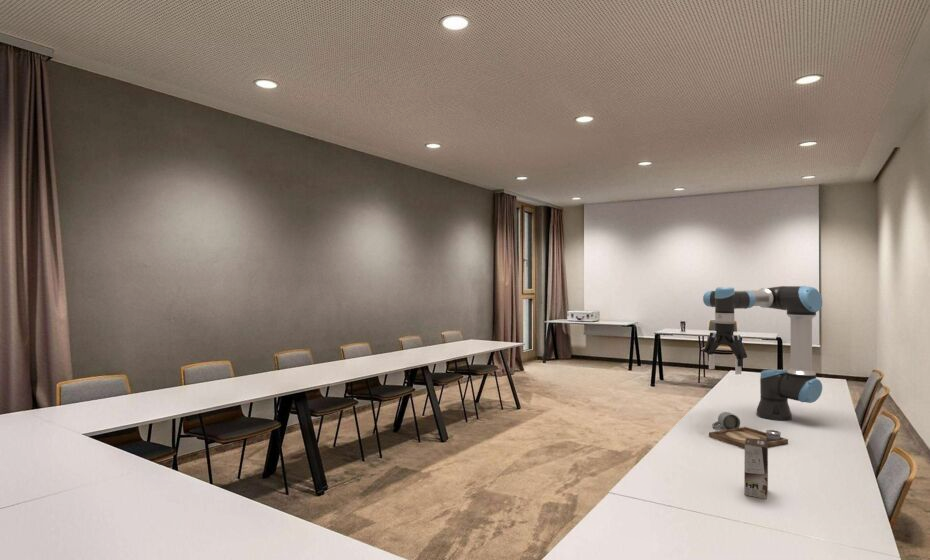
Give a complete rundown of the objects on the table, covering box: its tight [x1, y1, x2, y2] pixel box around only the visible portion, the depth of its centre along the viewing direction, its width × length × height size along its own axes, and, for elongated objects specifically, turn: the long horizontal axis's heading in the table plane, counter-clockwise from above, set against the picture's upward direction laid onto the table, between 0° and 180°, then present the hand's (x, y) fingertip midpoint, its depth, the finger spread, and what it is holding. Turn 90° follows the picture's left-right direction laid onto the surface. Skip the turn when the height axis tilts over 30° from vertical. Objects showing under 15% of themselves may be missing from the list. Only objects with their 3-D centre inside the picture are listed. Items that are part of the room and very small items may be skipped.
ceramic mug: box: [711, 411, 741, 430], centre depth 239 cm, size 11×8×8 cm
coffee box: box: [743, 438, 769, 500], centre depth 168 cm, size 9×6×16 cm
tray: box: [708, 426, 789, 450], centre depth 221 cm, size 22×20×2 cm
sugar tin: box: [765, 429, 781, 442], centre depth 218 cm, size 5×5×5 cm
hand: (724, 371), depth 228 cm, fingers open, 13 cm apart
